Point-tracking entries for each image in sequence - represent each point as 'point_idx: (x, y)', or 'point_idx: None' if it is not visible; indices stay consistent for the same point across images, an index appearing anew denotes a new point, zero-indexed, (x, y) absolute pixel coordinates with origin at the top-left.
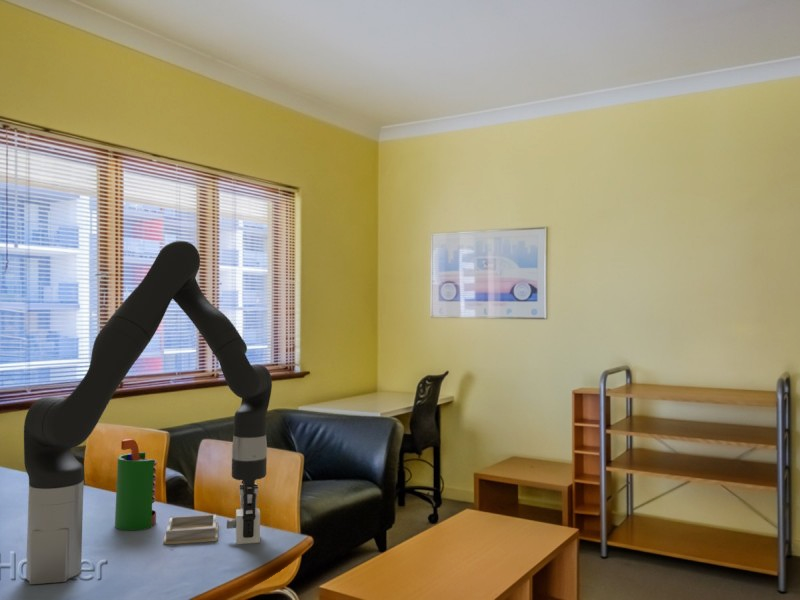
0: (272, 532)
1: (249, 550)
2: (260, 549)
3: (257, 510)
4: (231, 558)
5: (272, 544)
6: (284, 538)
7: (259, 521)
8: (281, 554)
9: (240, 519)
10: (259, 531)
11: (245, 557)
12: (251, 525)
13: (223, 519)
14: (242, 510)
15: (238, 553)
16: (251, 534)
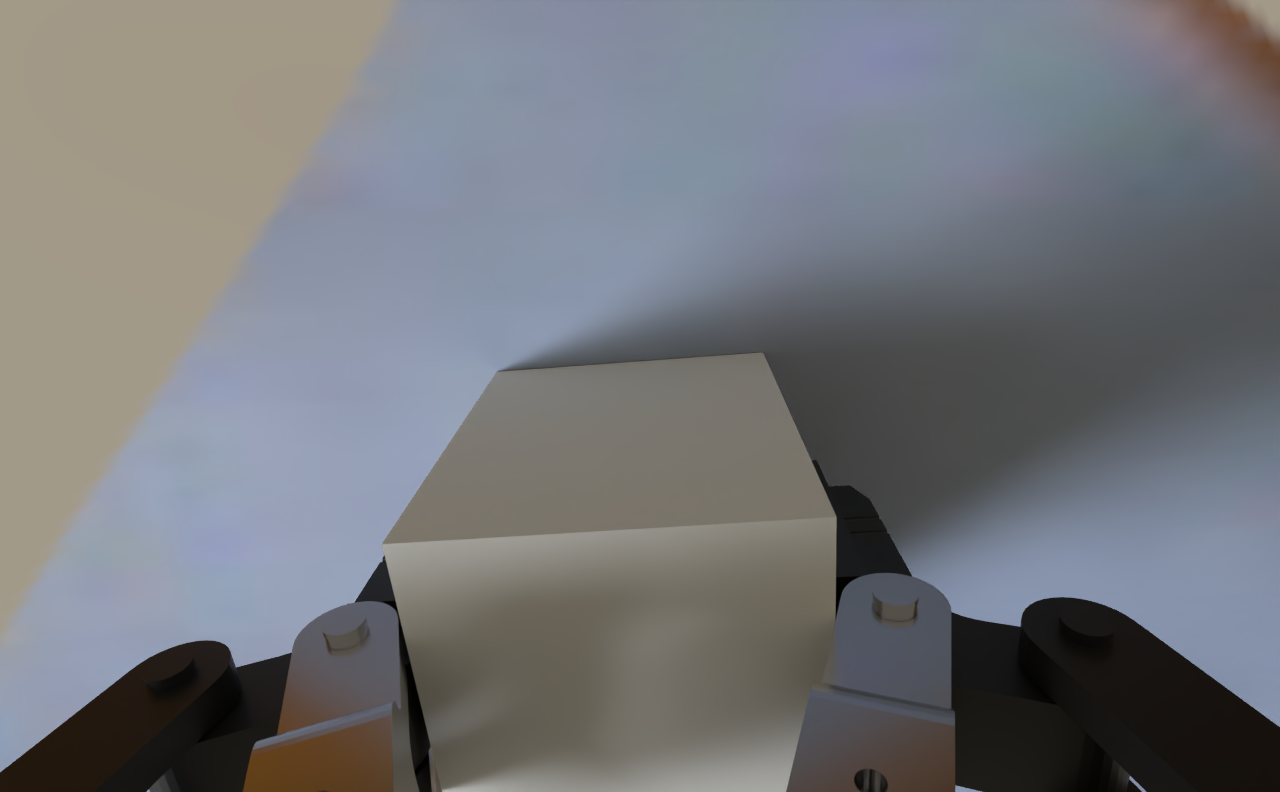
0: (409, 203)
1: (995, 450)
2: (1000, 337)
3: (541, 569)
4: (1167, 600)
5: (864, 198)
6: (662, 31)
7: (810, 468)
8: (1270, 74)
9: None
10: (780, 403)
11: (1194, 481)
12: (899, 564)
13: (4, 715)
14: (523, 786)
15: (1049, 548)
16: (860, 495)
